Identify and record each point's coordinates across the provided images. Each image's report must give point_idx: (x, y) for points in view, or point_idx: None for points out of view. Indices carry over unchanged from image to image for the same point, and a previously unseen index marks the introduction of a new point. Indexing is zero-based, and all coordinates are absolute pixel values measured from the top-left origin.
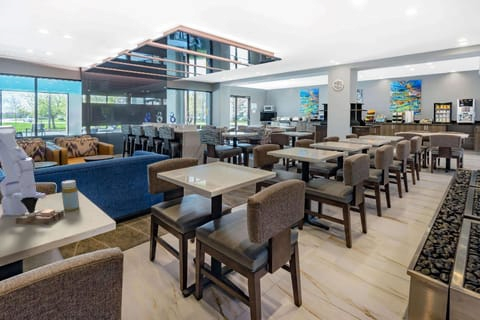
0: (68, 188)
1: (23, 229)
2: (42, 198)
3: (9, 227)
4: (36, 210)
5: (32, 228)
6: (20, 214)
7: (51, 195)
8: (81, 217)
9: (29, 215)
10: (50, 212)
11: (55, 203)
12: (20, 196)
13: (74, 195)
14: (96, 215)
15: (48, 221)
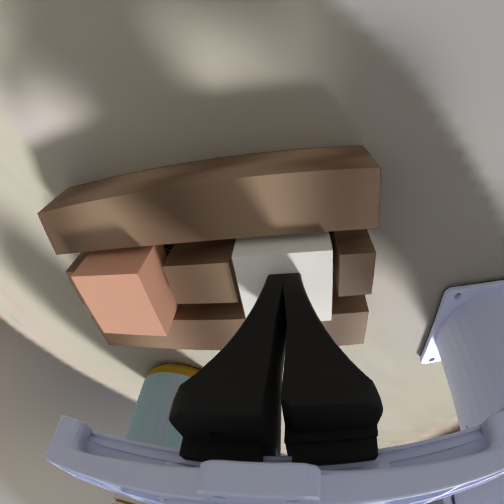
0: (121, 495)
1: (168, 54)
2: (62, 416)
3: (353, 65)
4: None
5: (114, 95)
6: (444, 297)
7: (414, 441)
8: (37, 299)
9: (273, 243)
10: (80, 288)
11: None
12: (311, 496)
13: None
14: (18, 318)
15: (57, 199)
